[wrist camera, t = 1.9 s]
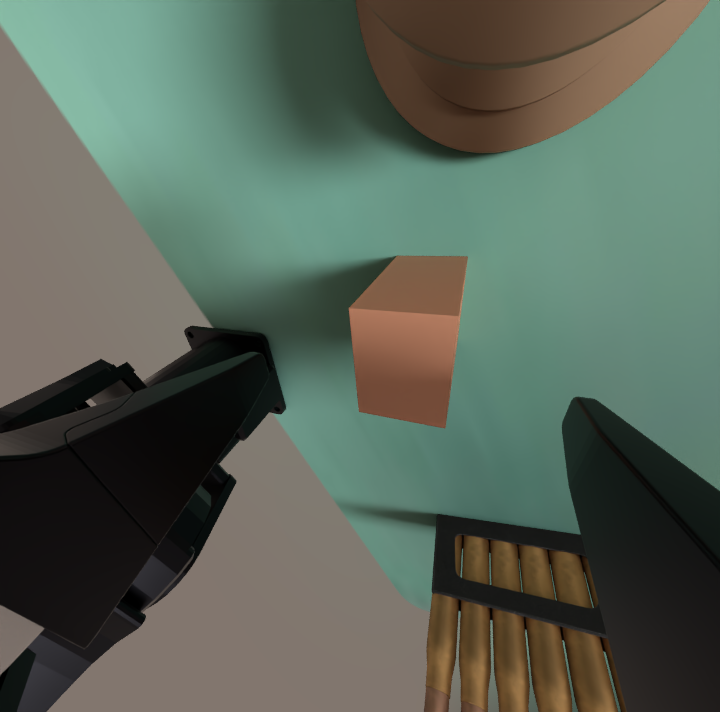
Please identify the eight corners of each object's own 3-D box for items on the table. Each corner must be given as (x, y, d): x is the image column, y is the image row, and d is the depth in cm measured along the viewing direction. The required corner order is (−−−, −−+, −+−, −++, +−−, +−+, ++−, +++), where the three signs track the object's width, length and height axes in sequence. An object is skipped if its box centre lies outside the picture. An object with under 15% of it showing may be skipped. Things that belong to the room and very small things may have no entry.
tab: (397, 334, 15) (358, 411, 10) (397, 255, 13) (348, 308, 8) (457, 340, 14) (445, 428, 9) (467, 256, 12) (458, 316, 7)
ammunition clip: (613, 539, 18) (764, 968, 8) (611, 555, 18) (746, 963, 9) (437, 513, 22) (404, 769, 13) (441, 527, 23) (413, 777, 14)
